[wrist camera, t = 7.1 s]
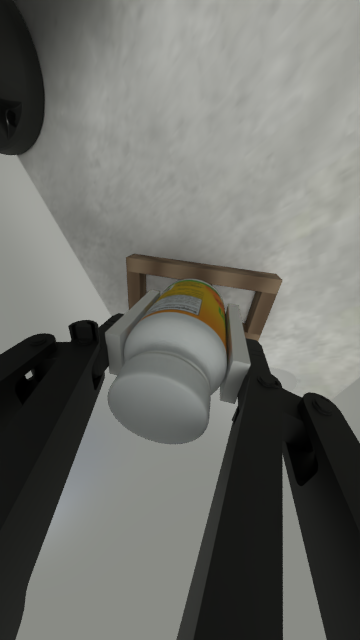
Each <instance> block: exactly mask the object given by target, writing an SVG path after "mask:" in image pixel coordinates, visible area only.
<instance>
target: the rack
mask: <svg viewBox="0 0 360 640" xmlns="http://www.w3.org/2000/svg"><path fill="white" fill-rule="evenodd" d="M126 265H127V284H128V302H129V310H130V309H131V308H132V307H133V306H134V305H135V304H136V303H137V302H138V301H139V300H140V299H141V298H142V297H144V296H145V295H146V274H149V275H156V276H162V277H169V278H175V279H182V280H184V279H197V280H201V281H204V282H206V283H208V284H210V285H211V286H212V284H214V285H220V286H227V287H233V288H240V289H246V290H253V291H256V293H255V296H254V299H253V302H252V305H251V308H250V311H249V314H248V317H247V320H246V323H242V325H243V330H244V335H245V338H248V339H253V340H257V341H258V340H259V338H260V335H261V333H262V330H263V328H264V325H265V323H266V320H267V318H268V315H269V313H270V310H271V308H272V305H273V303H274V300H275V298H276V295H277V293H278V290H279V288H280V285H281V283H282V279H281V278H280V277H279V276H278V275H277V274H272V273H265V272H258V271H251V270H244V269H237V268H230V267H223V266H215V265H208V264H201V263H194V262H187V261H180V260H173V259H166V258H159V257H152V256H145V255H138V254H133V255H131V256H128V257H126Z"/></svg>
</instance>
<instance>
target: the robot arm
mask: <svg viewBox="0 0 360 640" xmlns="http://www.w3.org/2000/svg"><path fill="white" fill-rule="evenodd" d="M43 109H44V94H43V84H42V77H41V71H40V66H39V62H38V58H37V54H36V51H35V48H34V45H33V42H32V39H31V36H30V34H29V31H28V29H27V27H26V24H25V22H24V20H23V18H22V16H21V14H20V12H19V10H18V8H17V6H16V5H15V3H14V1H13V0H0V153H1V154H6V155H17V154H20V153H23V152H25V151H26V150H27V149H29V148H30V147H31V146H32V144H33V143H34V142H35V140H36V138H37V136H38V134H39V131H40V128H41V124H42V119H43ZM159 297H160V291H155V290H150V291H149V292H148V293H147V294H146V295H145V296H144V297H142V298H141V299H140V300H139V301H138V302H137V303H136V304H135V305H134V306H133V307H132V308H131V309H130V310H129V311H128V312H126V313H125V314H120V313H119V314H116V315H114V316H112V317H111V318H110V319H108V321H106V322H105V323H104V324H103V325H101V326H100V327H99V328H98V324H97V323H96V322H94V321H91V320H82V321H77V322H75V323H72V324H71V325H69V330H70V335H71V342H56V340H55V337H54V335H51V334H45V333H44V334H37V335H33V336H31V337H29V338H27V339H25V340H23V341H22V342H20V343H18V344H17V345H15V346H14V347H12V348H10V349H9V350H7V351H5V352H4V353H2V354H0V640H15V639H16V636H17V633H18V629H19V626H20V623H21V620H22V615H23V611H24V605H25V596H26V590H27V586H28V583H29V580H30V577H31V574H32V571H33V568H34V566H35V563H36V560H37V558H38V555H39V552H40V550H41V547H42V544H43V542H44V539H45V536H46V534H47V531H48V528H49V526H50V523H51V520H52V518H53V515H54V512H55V510H56V507H57V504H58V501H59V499H60V496H61V493H62V491H63V488H64V485H65V483H66V480H67V477H68V475H69V472H70V469H71V467H72V464H73V461H74V459H75V456H76V453H77V450H78V448H79V445H80V443H81V440H82V437H83V434H84V432H85V429H86V426H87V423H88V421H89V418H90V416H91V413H92V410H93V408H94V405H95V402H96V399H97V397H98V394H99V392H100V389H101V386H102V384H103V381H104V378H105V373H104V371H105V370H106V369H107V367H108V366H109V372H110V373H111V374H115V375H118V374H119V372H120V370H121V368H122V367H123V366H124V364H125V362H124V347H125V343H126V340H127V338H128V336H129V334H130V333H131V331H132V330H133V328H134V327H135V326H136V324H137V323H138V322H139V321H140V320H141V318H142V317H143V316H144V315H145V314H146V313H147V311H148V310H149V309H150V308H151V306H152V305H153V304H154V303H155V302H156V301H157V300H158V298H159ZM225 324H226V347H227V369H226V374H225V377H224V380H223V382H222V384H221V385H220V400H221V401H225V402H229V403H233V404H235V402H236V399H237V397H238V407H237V409H236V412H235V414H234V416H233V418H232V421H233V423H232V427H231V431H230V435H229V439H228V443H227V446H226V451H225V454H224V458H223V462H222V466H221V470H220V474H219V477H218V481H217V485H216V489H215V493H214V497H213V501H212V504H211V508H210V513H209V516H208V520H207V524H206V528H205V532H204V536H203V539H202V543H201V547H200V551H199V555H198V559H197V563H196V567H195V570H194V575H193V578H192V582H191V586H190V590H189V594H188V598H187V602H186V605H185V609H184V613H183V617H182V621H181V625H180V629H179V633H178V636H177V640H283V567H282V566H283V565H282V564H283V547H282V546H283V532H282V531H283V526H282V525H283V524H282V522H283V521H282V520H283V515H282V453H283V457H284V461H285V466H286V469H287V474H288V478H289V482H290V487H291V491H292V495H293V499H294V503H295V507H296V512H297V516H298V520H299V525H300V529H301V533H302V537H303V541H304V545H305V550H306V554H307V558H308V562H309V567H310V571H311V575H312V578H313V584H314V588H315V592H316V596H317V600H318V604H319V609H320V613H321V617H322V621H323V625H324V630H325V634H326V638H327V640H360V443H359V441H358V440H357V438H356V436H355V435H354V433H353V431H352V430H351V428H350V426H349V425H348V423H347V421H346V420H345V418H344V416H343V415H342V413H341V411H340V410H339V409H338V408H337V407H336V405H335V404H333V403H332V402H331V401H330V400H329V399H327V398H325V397H323V396H322V395H319V394H316V393H310V392H309V393H306V394H304V396H303V397H299V396H297V395H295V394H293V393H291V392H289V391H287V390H285V389H283V388H282V385H281V383H280V381H279V380H278V379H277V378H276V377H275V376H273V375H272V374H271V373H270V370H269V367H268V364H267V361H266V358H265V355H264V353H263V349H262V346H261V345H260V344H259V342H258V341H257V340H253V339H248V338H245V335H244V330H243V325H242V320H241V316H240V311H239V306H238V305H233V304H228V307H227V310H226V314H225ZM30 370H31V372H32V374H33V376H32V377H31V378H29V379H26V377H25V374H27V373H28V372H29V371H30Z"/></svg>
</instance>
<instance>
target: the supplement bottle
mask: <svg viewBox="0 0 360 640" xmlns="http://www.w3.org/2000/svg"><path fill="white" fill-rule="evenodd" d="M124 362H125V364H124V366H123V367H122V368H121V370H120V372H119V374H118V375H117V377H116V379H115V380H114V382H113V383H112V385H111V387H110V389H109V392H108V404H109V407H110V409H111V411H112V413H113V415H114V416H115V418H116V419H117V420H118V421H119V422H120V423H121V424H122V425H123V426H125V427H126V428H127V429H128V430H130V431H132V432H133V433H135V434H137V435H138V436H141V437H143V438H145V439H148V440H151V441H155V442H158V443H165V444H183V443H187V442H190V441H193V440H195V439H197V438H199V437H200V436H201V435H202V434H203V433H204V431H205V430H206V428H207V425H208V421H209V411H210V395H212V394H213V393H214V392H215V391H216V390H217V389H218V388H219V386H220V385H221V384H222V382H223V380H224V377H225V374H226V369H227V347H226V324H225V308H224V303H223V300H222V298H221V296H220V294H219V293H218V291H217V290H216V289H215V288H214V287H213V286H211V285H210V284H208V283H206V282H204V281H201V280H197V279H184V280H180V281H177V282H175V283H173V284H172V285H171V286H169V287H168V288H167V289H166V290H165V291H164V292H163V293H162V295H161V296H160V297H159V298H158V300H157V301H156V302H155V303H154V304H153V305H152V306H151V308H150V309H149V310H148V311H147V313H146V314H145V315H144V316H143V317H142V318H141V320H140V321H139V322H138V323H137V324H136V326H135V327H134V328H133V330H132V331H131V333H130V334H129V336H128V338H127V340H126V343H125V347H124Z"/></svg>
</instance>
